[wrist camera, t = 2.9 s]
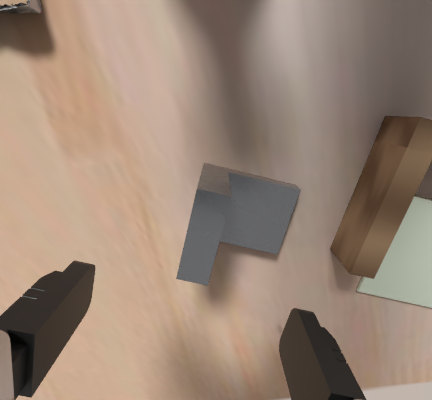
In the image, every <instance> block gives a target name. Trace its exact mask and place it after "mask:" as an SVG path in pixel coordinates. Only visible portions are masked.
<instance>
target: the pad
mask: <svg viewBox="0 0 432 400" xmlns="http://www.w3.org/2000/svg"><path fill="white" fill-rule="evenodd" d="M356 290H357V291H358V292H362V293H366V294H371V295H376V296H380V297H385V298H389V299H394V300H398V301H403V302H408V303H412V304H417V305H421V306H426V307H430V308H432V200H428V199H424V198H420V197H416V196H414V198H413V200H412V202H411V204H410V206H409V208H408V210H407V212H406V214H405V217H404V219H403V221H402V223H401V225H400V227H399V229H398V231H397V233H396V235H395V237H394V239H393V241H392V243H391V245H390V247H389V249H388V251H387V253H386V255H385V257H384V259H383V262H382V264H381V266H380V268H379V270H378V272H377V274H376V276H375V278H374V279H372V278H367V277H362V279H361V281H360V283H359V285H358V287H357V289H356Z"/></svg>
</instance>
